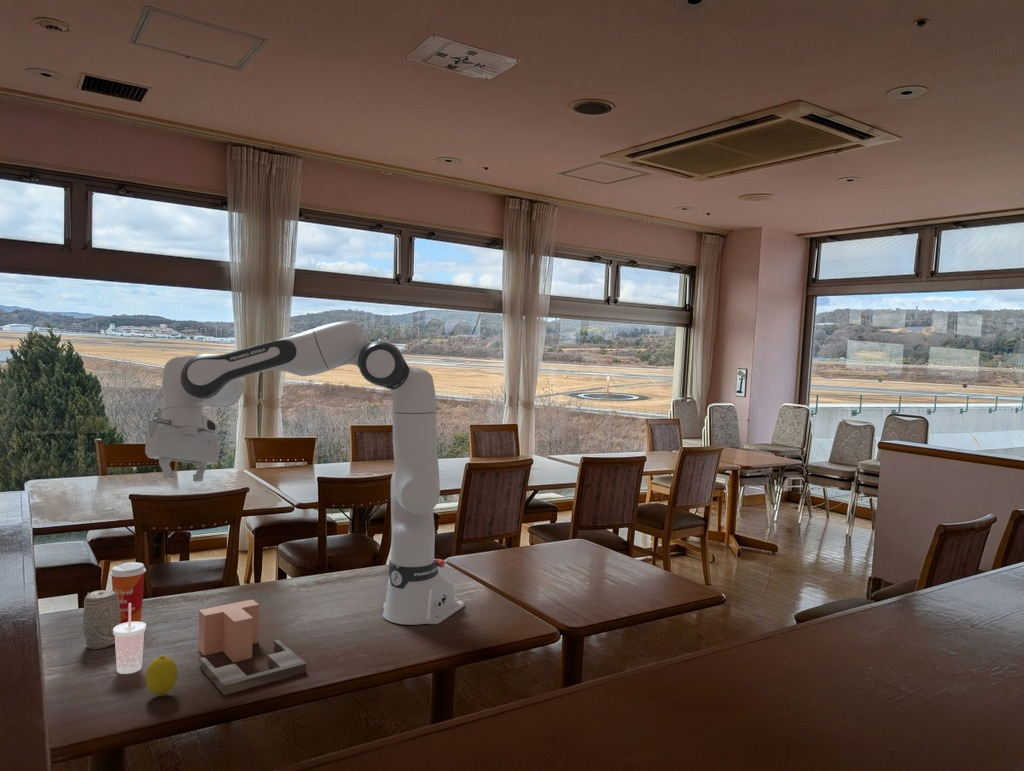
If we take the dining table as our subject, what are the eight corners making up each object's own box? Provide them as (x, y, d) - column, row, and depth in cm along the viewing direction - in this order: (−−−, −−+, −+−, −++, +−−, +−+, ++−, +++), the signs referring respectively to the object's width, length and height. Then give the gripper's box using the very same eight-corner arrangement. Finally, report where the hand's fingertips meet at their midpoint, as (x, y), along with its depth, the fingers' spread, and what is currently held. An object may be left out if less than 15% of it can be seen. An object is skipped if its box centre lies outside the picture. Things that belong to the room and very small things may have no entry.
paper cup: (102, 626, 173) (102, 568, 172) (129, 615, 180) (129, 559, 179) (126, 631, 170) (127, 573, 169) (153, 620, 177) (153, 564, 177)
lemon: (152, 689, 143) (153, 649, 143) (181, 689, 144) (182, 649, 143) (140, 703, 138) (141, 662, 137) (170, 702, 138) (171, 662, 138)
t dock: (200, 667, 153) (200, 658, 153) (278, 648, 164) (278, 639, 164) (224, 695, 142) (224, 685, 142) (306, 672, 153) (306, 663, 153)
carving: (77, 646, 161) (77, 593, 161) (112, 636, 167) (112, 585, 167) (89, 654, 157) (90, 600, 157) (125, 644, 163) (125, 592, 163)
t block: (198, 649, 162) (198, 610, 162) (251, 636, 170) (252, 599, 169) (214, 667, 154) (215, 625, 153) (269, 653, 161) (270, 613, 161)
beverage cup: (147, 671, 151) (147, 605, 150) (114, 678, 147) (114, 610, 147) (144, 660, 156) (144, 596, 155) (111, 666, 152) (111, 601, 152)
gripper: (160, 413, 163) (161, 474, 160) (222, 426, 182) (224, 480, 179) (137, 418, 165) (138, 479, 161) (201, 430, 184) (203, 484, 180)
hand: (183, 480), depth 170 cm, fingers open, 8 cm apart
